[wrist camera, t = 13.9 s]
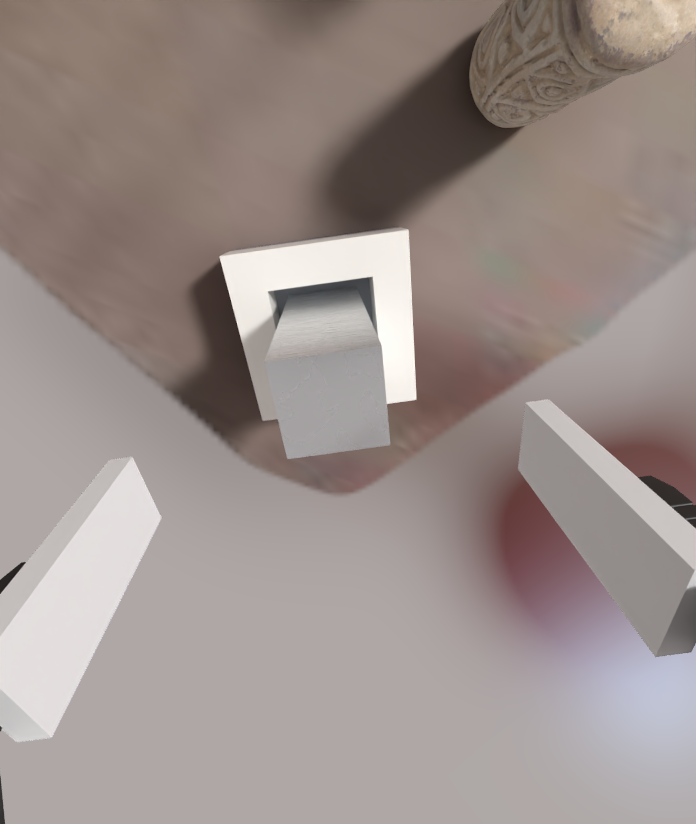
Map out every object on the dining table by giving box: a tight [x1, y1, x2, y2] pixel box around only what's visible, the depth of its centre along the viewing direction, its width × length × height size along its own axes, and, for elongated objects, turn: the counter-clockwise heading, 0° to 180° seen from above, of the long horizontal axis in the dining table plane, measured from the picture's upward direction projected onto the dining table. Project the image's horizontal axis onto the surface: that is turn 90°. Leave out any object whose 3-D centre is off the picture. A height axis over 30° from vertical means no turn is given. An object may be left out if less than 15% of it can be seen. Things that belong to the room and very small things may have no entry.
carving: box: [469, 0, 696, 128], centre depth 19 cm, size 6×8×12 cm
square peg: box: [264, 286, 390, 459], centre depth 24 cm, size 5×5×14 cm
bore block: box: [219, 227, 416, 421], centre depth 29 cm, size 12×12×4 cm
